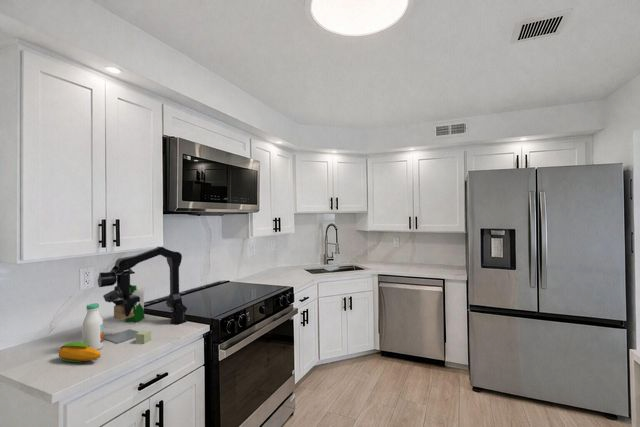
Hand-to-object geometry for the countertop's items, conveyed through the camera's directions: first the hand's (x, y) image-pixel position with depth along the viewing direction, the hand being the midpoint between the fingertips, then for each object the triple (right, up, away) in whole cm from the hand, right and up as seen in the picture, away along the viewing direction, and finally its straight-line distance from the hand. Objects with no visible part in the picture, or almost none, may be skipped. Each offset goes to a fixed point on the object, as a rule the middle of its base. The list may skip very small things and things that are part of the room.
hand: (123, 315), depth 159 cm
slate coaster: (0, -11, 0) cm, 11 cm away
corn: (-2, -11, -26) cm, 28 cm away
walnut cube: (0, -1, 0) cm, 1 cm away
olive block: (+13, -11, -7) cm, 18 cm away
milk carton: (-9, -11, +25) cm, 28 cm away
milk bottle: (-5, -11, -14) cm, 19 cm away
